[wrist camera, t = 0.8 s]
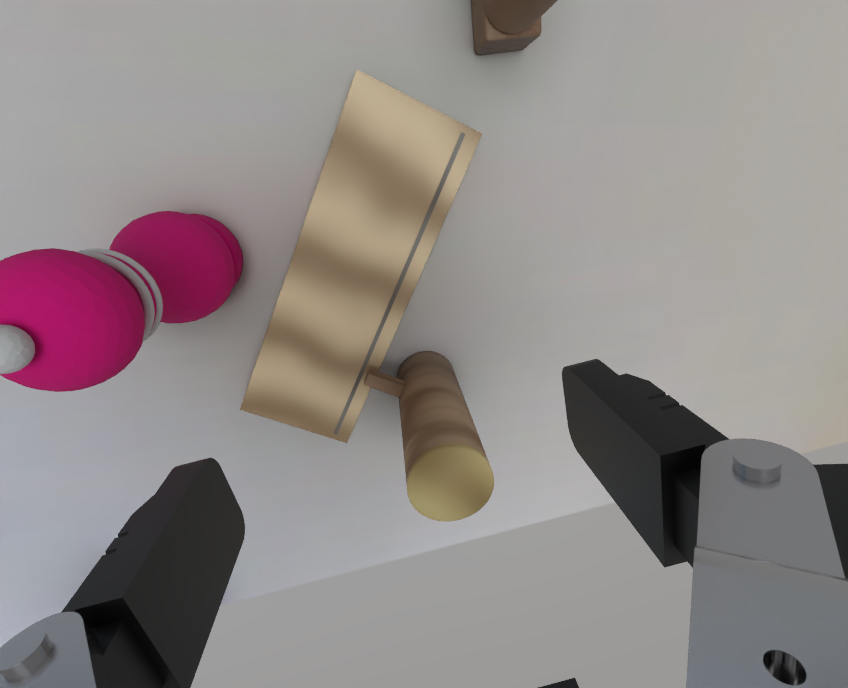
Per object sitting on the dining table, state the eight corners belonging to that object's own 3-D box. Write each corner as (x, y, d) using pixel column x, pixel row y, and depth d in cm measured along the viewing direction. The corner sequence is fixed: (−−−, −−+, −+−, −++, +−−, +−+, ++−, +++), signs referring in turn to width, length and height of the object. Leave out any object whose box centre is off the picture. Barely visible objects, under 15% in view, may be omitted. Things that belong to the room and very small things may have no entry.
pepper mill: (150, 196, 32) (-168, 227, 13) (255, 219, 33) (97, 277, 15) (148, 292, 34) (-126, 434, 16) (245, 311, 35) (98, 462, 17)
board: (348, 427, 40) (346, 443, 38) (248, 395, 38) (239, 410, 36) (474, 136, 33) (482, 133, 30) (358, 77, 30) (356, 69, 28)
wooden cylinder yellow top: (439, 410, 40) (470, 530, 27) (357, 381, 39) (345, 494, 25) (463, 362, 39) (508, 464, 25) (378, 330, 37) (378, 421, 24)
